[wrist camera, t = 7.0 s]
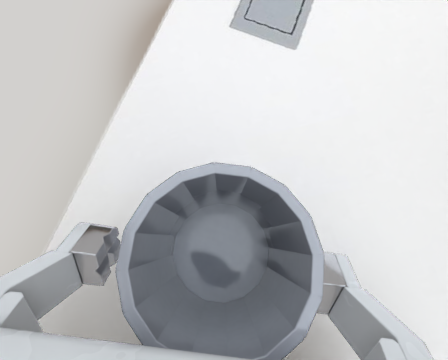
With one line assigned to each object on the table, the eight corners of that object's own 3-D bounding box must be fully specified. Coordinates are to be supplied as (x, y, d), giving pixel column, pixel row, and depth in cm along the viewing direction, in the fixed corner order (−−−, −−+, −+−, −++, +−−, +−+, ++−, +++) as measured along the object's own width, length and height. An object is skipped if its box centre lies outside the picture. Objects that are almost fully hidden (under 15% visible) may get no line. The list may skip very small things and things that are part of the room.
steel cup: (268, 313, 15) (320, 396, 7) (160, 299, 15) (94, 365, 7) (276, 205, 16) (327, 175, 9) (178, 193, 16) (139, 152, 9)
